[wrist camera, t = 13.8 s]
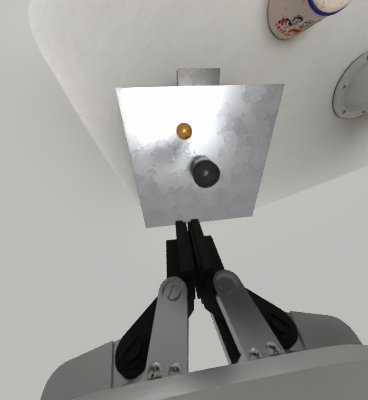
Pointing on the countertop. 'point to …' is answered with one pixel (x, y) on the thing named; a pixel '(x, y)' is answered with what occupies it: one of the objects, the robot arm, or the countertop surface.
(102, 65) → the countertop surface
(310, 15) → the teacup with lid
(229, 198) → the cooker lid
